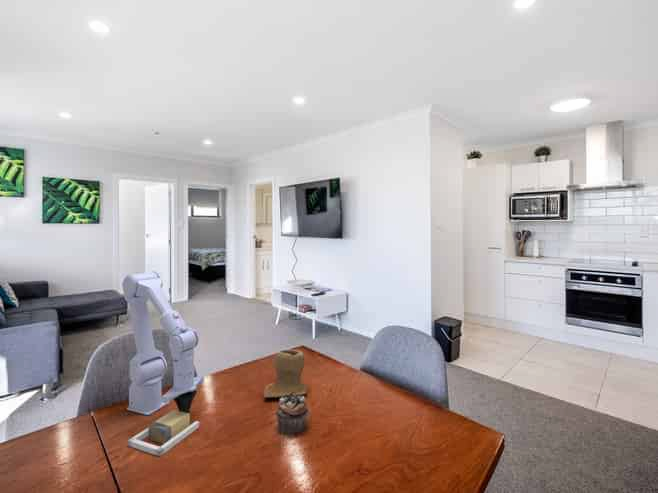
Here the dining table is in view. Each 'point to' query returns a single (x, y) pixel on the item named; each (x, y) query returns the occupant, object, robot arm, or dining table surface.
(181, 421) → the block
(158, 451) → the end holder
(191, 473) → the dining table surface
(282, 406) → the cupcake
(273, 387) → the stone cup
